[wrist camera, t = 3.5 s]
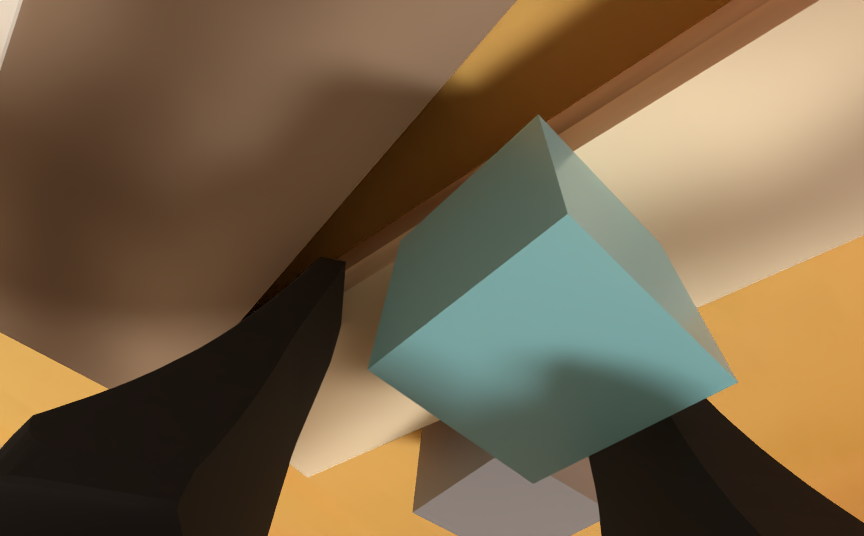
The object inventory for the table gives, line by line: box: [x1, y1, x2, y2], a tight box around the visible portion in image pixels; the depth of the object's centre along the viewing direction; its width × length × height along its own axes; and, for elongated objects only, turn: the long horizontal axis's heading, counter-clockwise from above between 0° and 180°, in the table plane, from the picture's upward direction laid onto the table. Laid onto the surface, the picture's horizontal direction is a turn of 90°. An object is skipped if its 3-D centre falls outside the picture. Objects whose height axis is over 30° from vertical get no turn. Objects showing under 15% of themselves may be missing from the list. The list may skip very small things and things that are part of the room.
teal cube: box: [367, 114, 738, 484], centre depth 10 cm, size 4×4×4 cm
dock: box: [0, 0, 517, 389], centre depth 11 cm, size 8×20×2 cm, turn 139°
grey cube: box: [413, 420, 600, 536], centre depth 16 cm, size 4×4×4 cm
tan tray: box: [238, 0, 864, 477], centre depth 14 cm, size 5×18×3 cm, turn 127°
